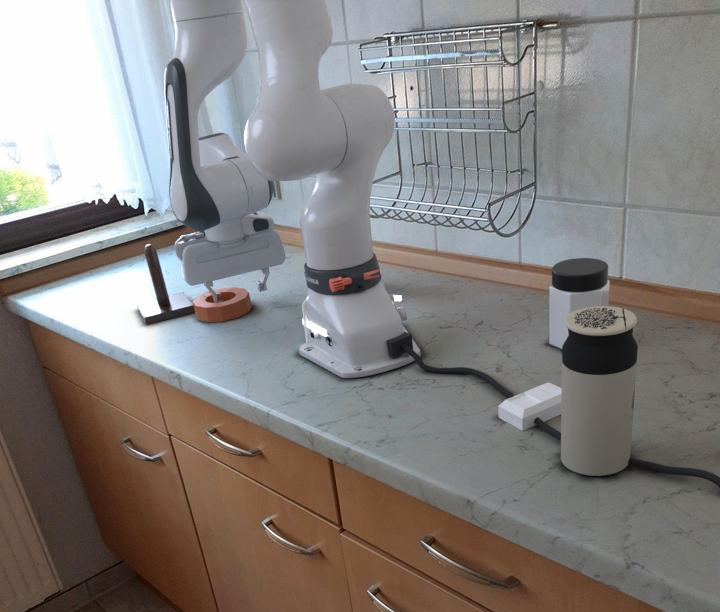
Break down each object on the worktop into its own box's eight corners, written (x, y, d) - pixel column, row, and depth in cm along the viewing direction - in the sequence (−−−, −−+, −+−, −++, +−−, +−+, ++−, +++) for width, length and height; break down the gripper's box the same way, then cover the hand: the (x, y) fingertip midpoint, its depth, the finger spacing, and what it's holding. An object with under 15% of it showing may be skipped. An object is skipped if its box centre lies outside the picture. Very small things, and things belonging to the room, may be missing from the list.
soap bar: (575, 408, 106) (575, 390, 105) (522, 430, 103) (522, 412, 101) (550, 396, 110) (550, 379, 108) (498, 417, 106) (498, 400, 105)
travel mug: (555, 475, 93) (557, 331, 83) (566, 441, 99) (568, 304, 90) (626, 481, 90) (636, 333, 81) (632, 446, 96) (642, 305, 87)
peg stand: (195, 312, 159) (178, 244, 151) (146, 324, 156) (126, 256, 149) (185, 298, 167) (168, 233, 159) (138, 310, 164) (119, 244, 157)
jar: (600, 328, 127) (603, 254, 121) (614, 348, 120) (617, 271, 114) (544, 334, 128) (544, 261, 121) (554, 354, 121) (554, 278, 114)
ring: (257, 312, 154) (254, 297, 152) (203, 326, 151) (200, 311, 149) (242, 297, 162) (239, 283, 161) (191, 310, 160) (188, 296, 158)
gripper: (175, 241, 144) (193, 313, 151) (281, 217, 149) (293, 288, 157) (169, 234, 149) (186, 304, 157) (271, 211, 155) (283, 280, 162)
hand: (240, 296), depth 157 cm, fingers open, 8 cm apart
